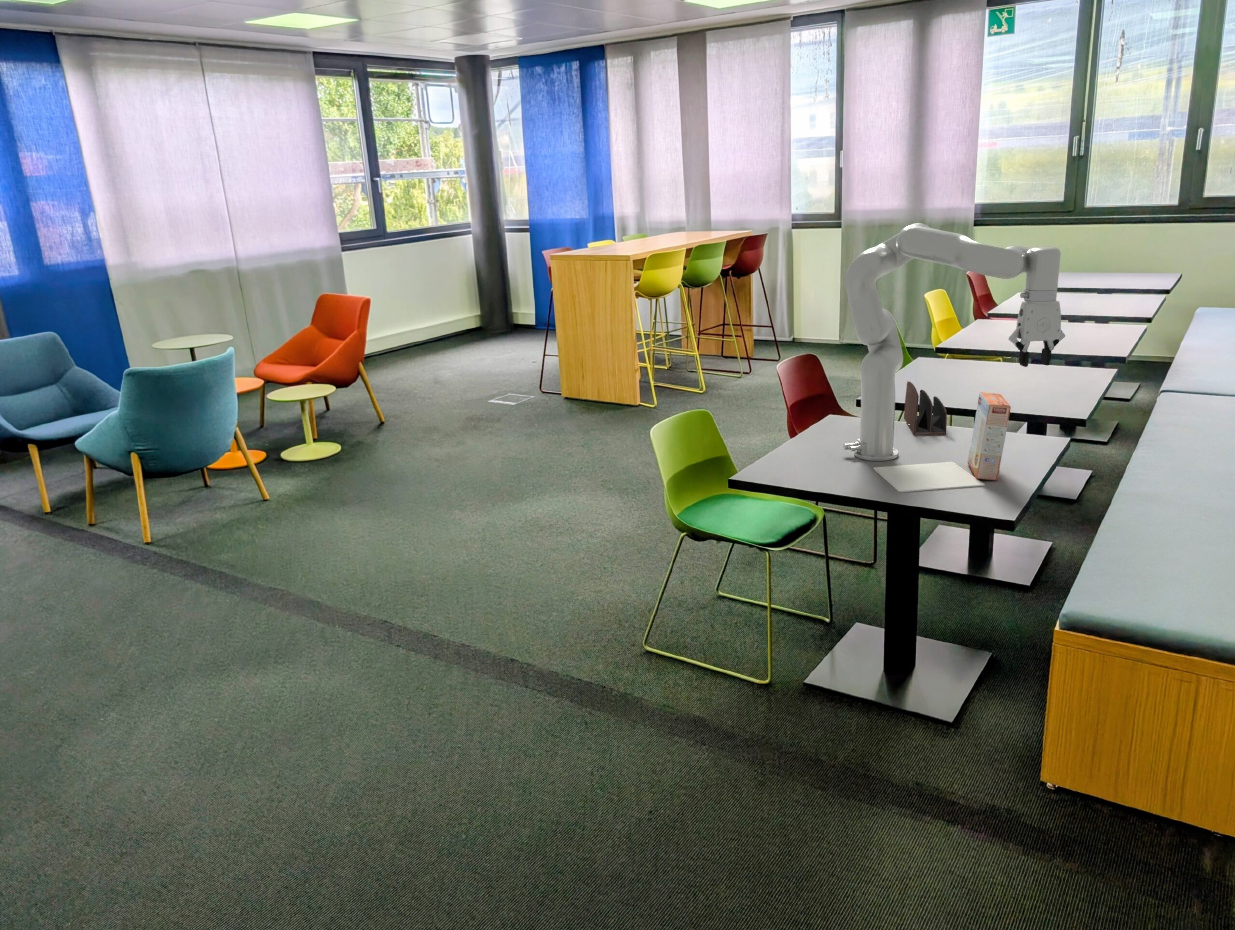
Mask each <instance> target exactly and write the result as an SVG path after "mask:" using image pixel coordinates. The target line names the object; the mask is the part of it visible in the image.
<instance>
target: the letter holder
mask: <svg viewBox="0 0 1235 930" xmlns="http://www.w3.org/2000/svg"><path fill="white" fill-rule="evenodd" d="M932 400H933V402H932ZM932 400H931V398H930V395H929V394H928V393H927V391H925V390H923V389H920V391H919V393H918V390H917V388H916V387H915V385H914V383H912V382H911V381H909V380H908V381H907V382H906V391H905V399H904V411H903V420H905V422H906V424H910V425H907V426H908V427H909V428H908V429H910V432H911V433H912V436H914V435H924V436H946V435H947V428H948V427H947V426H948V425H947V424H948V423H947V421H948V415H947V413H948V412H947V409H946V407H945V405H944V404H943V402H942V401H941V399H940V398H939V397H938V396H933V399H932Z"/></svg>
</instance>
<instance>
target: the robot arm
mask: <svg viewBox="0 0 1235 930" xmlns="http://www.w3.org/2000/svg"><path fill="white" fill-rule="evenodd" d="M914 259H917V260H921V261H927V262H930V263H934V264H935V263H936V264H940V265H945V266H950V267H953V268H956V269H960V270H963V271H967V272H970V273H974V274H979V275H983V276H987V277H991V278H996V279H997V278H998V279H1002V280H1010V279H1014V278H1016V277H1018V276H1019V275H1021V274H1026V276H1025V277H1026V279H1025V289H1024V292H1021V293H1020V294H1019V297H1020V299H1023V300H1024V301H1021V304H1020V307H1019V311H1018V315H1017V321H1016V328H1015V330H1014V331H1013V332H1012V333H1011V335H1010V336H1009V337H1008V341H1009V342H1010V343H1012V344H1013V345H1014V346H1015V348H1017V350H1018V351H1019V355H1018V363H1019V365H1020V366H1021V367H1024V368H1027V367H1028V366H1029V359H1030V358H1029V357H1030V352H1029V351H1028V349H1029V347H1030V344H1031V342H1042V341H1043V346H1044V348H1042V349H1041V355H1040V364H1042V365H1044V366H1049V365H1050V363H1051V360H1052V351H1054V349H1055V347H1056V346H1057V345H1058V344H1059V343H1060V342H1061V341H1062V340H1063V339H1065V337H1066V334H1065V333H1064V332H1063V330H1062V329H1061V328H1062V313H1061V303H1060V301H1059V300H1057V296H1058V286H1059V285H1058V284H1059V274H1060V265H1061V250H1060V248H1058V247H1056V246H1037V247H1030V246H1029V247H1028V246H1020V245H1010V246H1007V247H1004V248H1003V247H998V246H993V245H989V244H984V243H981V242H979V241H975V240H973V239H971V238H970V237H968V236H967V235H964V234H962V233H957V232H952V231H946V230H942V229H936V228H933V227H930V226H929V225H927V224H925V223H921V222H917V223H912V224H910V225H907V226H905V227H904V228H902V229H901V230H900V231H899V233H897V234H895V235H893V236H892V237H890V238H889V239H886V240H885V241H883V242H881V243H879V244H878V245H876V246H874V247H870V248H867V249H866V250H864V251H863V252H861V253H859V255H858V256H856V257H854V259H853V260H852V262H851V263H850V264H849V266H848V267H847V270H846V273H845V277H844V285H845V291H846V296H847V300H848V305H849V310H850V314H851V318H852V319H851V320H852V323H853V324H852V325H853V327H854V333H855V336H856V339H857V340H858V341H859V343H861V344H863V345H864V346H867V349H868V353H866V355H865V356H864V357H863V359H862V361H861V364H860V368H859V370H860V371H859V373H860V374H859V377H860V390H861V391H860V392H861V393H860V431H859V433H860V435H859V438H856V441H854V442H847V443H846V442H845V443H843V444H842V445H843V450H844V451H846V450H850V451H851V452H853V455H854V456H855V457H856V458H858V459H861V460H865V461H872V462H883V461H892V460H894V459H897V458H898V457H899V450H898V449H897V448H894V440H895V439H894V438H895V437H894V436H895V435H894V434H895V418H896V417H895V416H896V413H895V412H896V382H895V381H896V379H895V378H896V373H898V372H899V371H900V369H901V368H902V367H903V363H904V354H903V348H902V343H901V339H900V335H899V331H898V325H897V322H896V320H895V317H894V315H893V314H892V313H891V312H890V311H889V310H888V309H886V308H882V303H881V297H880V293H879V290H878V288H877V285H876V283H877V281H878V279H880V278H881V277H884V276H886V275H888V274H891V273H892V272H893V271H895V270H897V269H899V268H901V267H902V266H903V265H905V264H908V263H909V262H910V261H912V260H914ZM1018 339H1020V341H1019V340H1018Z"/></svg>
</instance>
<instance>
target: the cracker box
mask: <svg viewBox="0 0 1235 930" xmlns="http://www.w3.org/2000/svg"><path fill="white" fill-rule="evenodd" d="M1011 408H1012V406H1011V405H1010V403H1009V402H1008V401H1007V400H1006V399H1005V398H1004V397H1003V396H1002V394H1000V393H995V392H979V394H978V400H977V407H976V412H975V416H974V417H975V419H974V423H973V424H974V425H973V430H972V436H971V441H970V447H969V452H968V459H967V465H968V466H969V468H970V470H971V473H972V474H973V476H974V477H975V478H976V479H978V480H979V479H980V480H987V481H995V482H997V481H998V479H999V474H1000V466H1001V463H1002V457H1003V452H1004V445H1005V442H1006V435H1007V430H1008V425H1009V420H1010V415H1011V411H1012V410H1011Z"/></svg>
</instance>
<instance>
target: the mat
mask: <svg viewBox="0 0 1235 930" xmlns="http://www.w3.org/2000/svg"><path fill="white" fill-rule="evenodd" d="M873 470H874V471H875V472H876V473H877V474H878V475H880V477H882V478H883V479H884V480H885V481H886V482H887V483H888V484H889V485H890V486H892V488H893V489H894V490H896V492H898V493H911V492H924V491H938V490H950V489H962V488H976V487H978V488H979V487H985V486H986V484H985V483H983V482H982V481H980V480H979V479H976V478H975V476H974V475H972V474H971V473H969V472H968V471H967V470H965V469H964V468H962V467H960V465H959V464H957V463H955V462H954V461H945V462H931V463H915V464H903V465H902V464H901V465H892V466H891V465H890V466H887V465H886V466H876V467H875V466H874V467H873Z"/></svg>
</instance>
